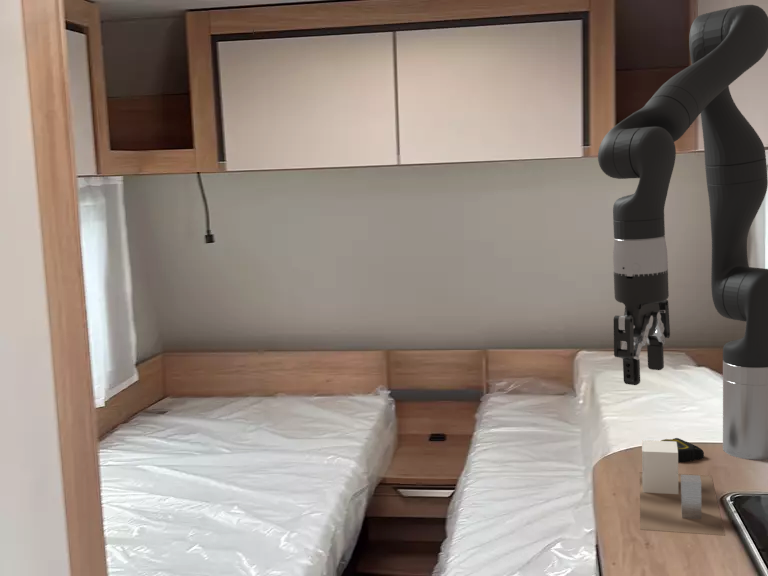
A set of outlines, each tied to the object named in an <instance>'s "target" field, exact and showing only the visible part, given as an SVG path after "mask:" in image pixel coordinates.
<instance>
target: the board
mask: <svg viewBox="0 0 768 576" xmlns="http://www.w3.org/2000/svg"><path fill="white" fill-rule="evenodd" d="M681 475H694V474H688V473H678V494H664V493H646V492H643V477H642V471H640V472H639V525H640V526H639V527H640V528H639V530H641V531H653V532H667V533H684V534H697V535H710V536H711V535H713V536H726V533H725V530H724V524H723V520H722V516H721V511H720V508H719V507H720V506H719V504H718V499H717V495H716V491H715V486H714V483H713V477H712V475H710V474H699V475H700V478H701V519H689V518H682V514H681Z"/></svg>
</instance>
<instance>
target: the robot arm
mask: <svg viewBox="0 0 768 576" xmlns="http://www.w3.org/2000/svg"><path fill="white" fill-rule="evenodd" d="M688 38H689V39H688V41H689V42H688V45H689V46H688V47H689V56H690V62H691V63H690V64H691V65H688V66H687V67H685V68H683V69H682V70H680V71H679V72H678V73H676V74H675V75H673V76H672V77H670V78H669V79H668V80H667V81H666V82H664V83H663V84H662V85H661V86H660V87H659V88H658V89H657V90H656V91H655V92H654V94H653V95H652V97H651V98H649V100H648V101H647V102H646V103H645V104H644V106H643V107H642V108H640V109H638V110H636V111H634V112H632V114H630V115H628V116H627V117H626V118H624V119H623V120H621V121H619V123H617V124H616V125H614V126H613V127H612V128H610V130H609V131H608V132H607V133H606V134H605V135H604V137H603V139H602V140H601V142H600V144H599V148H598V151H597V161H598V164H599V167H600V170H601V171H602V172H603V173H604V174H605V175H606V176H607V177H609V178H612V179H618V180H621V179H623V180H624V179H625V180H627V179H639V180H638V181H639V182H638V185H637V188H636V190H635V191H634V193H632V194H629V195H625V196H622V197H620V198H619V197H618V198H617V199H616V200H615V201H614V204H613V207H612V208H613V209H612V215H613V216H612V222H613V223H612V224H613V238H614V239H613V250H612V264H613V267H612V268H613V289H614V291H613V293H614V300H615V301H616V302H618V303H622V304H623V305H624V312H623V313H624V314H623V315H614V317H613V355H614V357H615V358H619V359H622V367H623V368H622V371H623V383H624V384H625V385H632V386H637V385H639V384H640V383H641V369H640V367H641V363H640V355H641V352H642V351H641V350H642V347H645V346H646V350H647V367H648V369H649V370H652V371H661V370H663V369H664V367H665V361H664V346H665V344H666V339H669V338H670V337H671V329H670V325H671V323H670V310H669V309H670V308H669V300H668V298H669V295H670V294H669V265H668V263H669V261H668V248H667V242H666V231H665V206H666V202H667V201H666V199H667V198H668V197H667V196H668V192H669V187H670V183H671V178H672V175H673V171H674V167H675V163H676V155H677V150H676V144H675V142H676V141H678V140H679V139H681V137H682V136H683V135H685V133H686V132H687V131H688V129H689V128H690V127H691V126H692V124H693V123H694V122H695V121H696V120H697V118H698V117H699V115H700V119H701V127H702V139H703V148H704V149H703V150H704V167H705V168H704V169H705V177H706V187H707V193H708V204H709V217H710V231H711V267H710V268H711V269H710V270H711V272H710V273H711V276H710V277H711V280H710V281H711V283H710V284H711V285H710V286H711V288H710V289H711V297H712V301H713V306H714V308H715V310H716V312H718V314H719V315H721V316H722V317H723V318H726V319H730V320H734V321H740V322H745V331H744V335H743V337H742V338H739V339H735V340H731V341H728V342H726V343H725V344H724V345H723V347H722V450H723V452H725V454H727V455H729V456H731V457H735V458H738V459H743V460H751V461H753V460H754V461H765V460H768V268H760V267H751V266H749V265H750V264H749V259H748V237H749V236H748V235H749V232H750V229H751V226H752V224H753V222H754V220H755V218H756V216H757V214H758V212H759V210H760V208H761V206H762V204H763V201H764V200H765V197H766V194H767V191H768V169H767V168H768V167H767V158H766V157H767V155H766V148H765V145H764V143H763V141H762V139H761V137H760V136H759V134H758V133H757V131H756V130H755V128H754V127H753V126H752V124H751V123H750V122H749V121H748V120H747V118H746V117H745V116H744V115H743V113H742V112H741V110H740V109H739V108H738V106H737V105H736V103H735V101H734V99H733V97H732V95H731V90H730V87H729V86H730V85H731V84H732V83H734V82H735V81H737V80H738V78H739V77H742V75H743V74H744V73H746V72H747V71H748V70H749V69H751V68H752V67H754V65H756V64H757V63H758V62H759V61H760V60H761V59H762V58H764V56H765V55H766V53H767V52H768V14H767V13H766V11H765V10H764V9H763V8H762V7H760V6H759V5H754V4H743V5H737V6H733V7H728V8H725V9H724V8H723V9H719V10H714V11H711V12H706V13H703V14H700V15H698V16H697V17H696V18H694V20H693V22H692V24H691V26H690V31H689V37H688ZM646 344H647V345H646Z"/></svg>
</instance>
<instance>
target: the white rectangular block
mask: <svg viewBox="0 0 768 576" xmlns="http://www.w3.org/2000/svg"><path fill="white" fill-rule="evenodd" d="M641 455H642V456H641V457H642V458H641V460H642V462H641V463H642V465H641V466H642V467H641V468H642V471H641V472H642V477H643V492H646V493H664V494H678V474H679V462H678V449H677V442H675V441H661V440H646V439H643V440H642V439H641Z"/></svg>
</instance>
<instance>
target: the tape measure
mask: <svg viewBox="0 0 768 576" xmlns="http://www.w3.org/2000/svg"><path fill="white" fill-rule="evenodd" d="M660 441H675V442H677V449H678V463H689V462H693V461H697V460H703V459H704V458H705V452H704V450H703V449H702V448H700V447H699V446H697V445H695V444H693V443H691V442H688V441H686V440H683V439H681V438H678V437H675V438H672V439H671V438H670V439H667V438H666V439H661V440H660Z"/></svg>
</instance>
